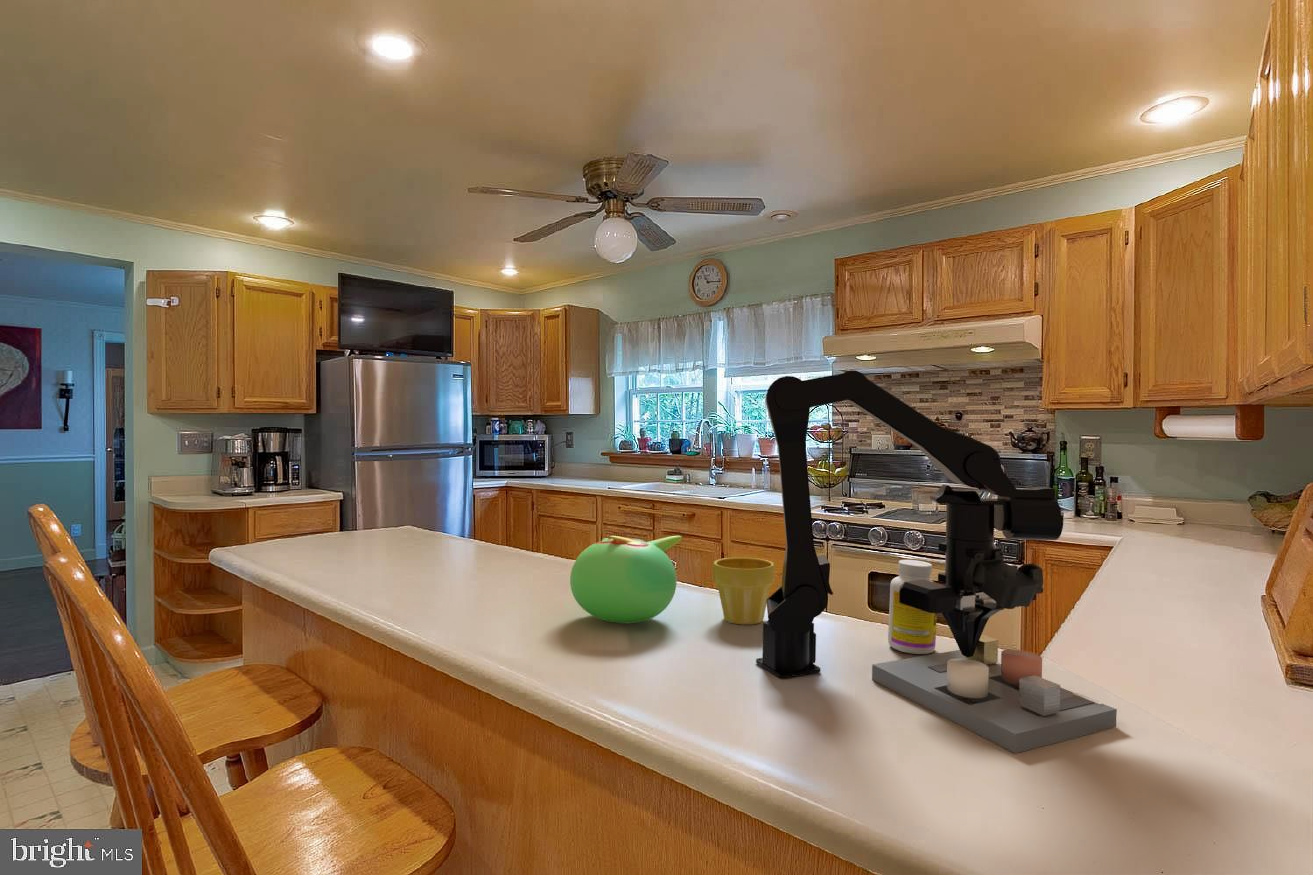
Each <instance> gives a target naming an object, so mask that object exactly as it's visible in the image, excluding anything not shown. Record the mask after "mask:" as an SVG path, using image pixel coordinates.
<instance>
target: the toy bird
mask: <svg viewBox="0 0 1313 875" xmlns="http://www.w3.org/2000/svg"><path fill="white" fill-rule="evenodd" d="M608 537H609V538H606V537H605V538H602V539H601V541H598V542H595V543H593V544H591V545H589V546H587V548H585V549H584V550H583V551H582V552H580V554H579V555H578V556H577V557H576V559H575V561H574V563H573V565H572V567H571V571H570V577H569V580H570V581H569V583H570V584H569V585H570V590H571V593H572V596H573V598H574V599H575V601H576V603H577V604H578V605H579V606H580V607H581V609H583V610H584V611H585V612H586V613H588V614H589V615H591V616H593V617H595V618H597V619H599V620H602V621H606V622H610V623H616V624H635V623H641V622H645V621H647V620H651V619H653V618H655V617H657V616H658V615H660V614H661V613H662V612H664V610H666V609H667V608H668V607H669V605H670V603H671V602H672V600H673V598H674V596H675V594H676V589H677V582H678V581H677V579H678V578H677V572H676V569H675V566H674V564H673V561H672V560H671V559H670V557H669V556H668V555H667V554H666V553H665V551H667V550H668V549H671V548H672V547H674V546H675V545H676V544H678V543H679V542H680V541H682V539H683V536H681V535H673V536H667V537H666V536H665V537H662V538H658V539H654V540H649V541H645V540H643V539H639V538H630V537H624V536H618V535H609V536H608Z"/></svg>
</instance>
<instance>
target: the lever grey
mask: <svg viewBox="0 0 1313 875" xmlns="http://www.w3.org/2000/svg"><path fill="white" fill-rule="evenodd" d="M1060 687H1061V684H1059V683H1057V682H1053V681H1051V680H1048V679H1047V678H1046V679H1045V678H1043V677H1042V678H1041V677H1038V676H1035V675H1034V676H1029V677H1024V678H1020V679H1019V688H1018V690H1019V705H1020V706H1022V707H1024V708H1027V709H1029V710H1031V711H1033V712H1036V713H1038V714H1040V715H1043V716H1046V715H1051V714H1055V713H1059V712H1060Z"/></svg>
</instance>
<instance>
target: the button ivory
mask: <svg viewBox="0 0 1313 875" xmlns="http://www.w3.org/2000/svg"><path fill="white" fill-rule="evenodd" d="M988 679H989V667H988V666H987V665H985V664H983V663H981V662H978V661H975V660H970V659H961V658H956V659H950V660H948V661H947V689H948V690H949V691H950V692H952V693H954V694H956V695H959V696H963V697H968V698H984V697H986V696H988Z"/></svg>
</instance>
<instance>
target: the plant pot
mask: <svg viewBox="0 0 1313 875" xmlns="http://www.w3.org/2000/svg"><path fill="white" fill-rule="evenodd" d="M712 571H713V582H714V583H715V584H716V585H717V589H718V590H717V591H718V593H719V595H718V596H719V599H720V605H721V609H722V613H723V619H724V620H725V621H727V622H728V623H730V624H735V625H746V626H747V625H748V626H749V625H758V624H760V623H763V622H764V617H765V615H766V614H765V612H766V610H767V601H766V600H767V598H769V594H770V589H771V586H772V585H774V583H775V564H774V562H773V561H771V560H766V559H763V558H756V557H755V558H754V557H724V558H719V559H716V560H714V562H713V570H712Z"/></svg>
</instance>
